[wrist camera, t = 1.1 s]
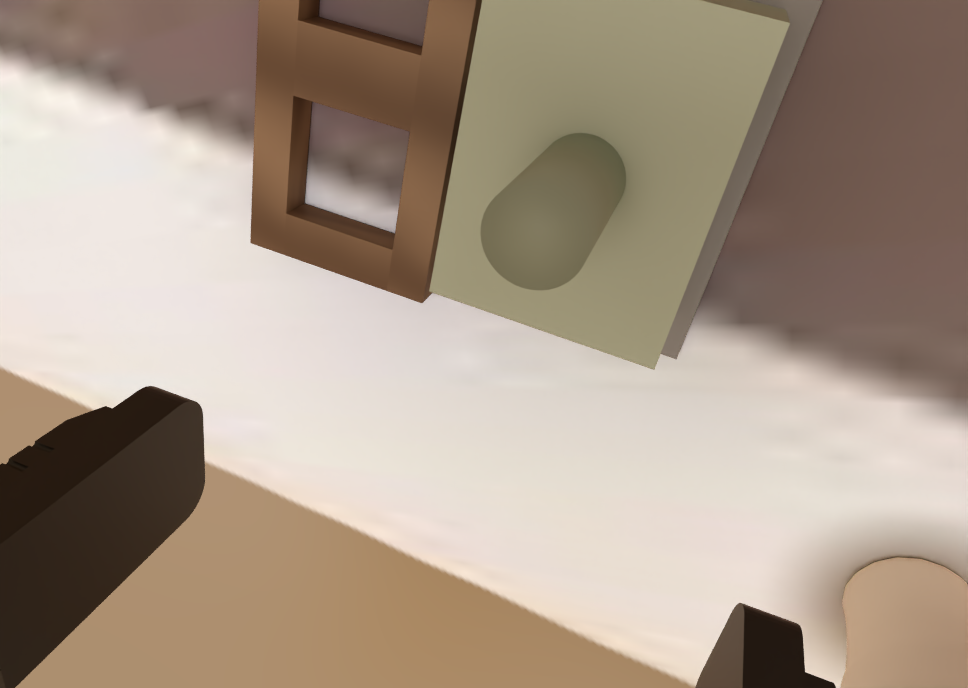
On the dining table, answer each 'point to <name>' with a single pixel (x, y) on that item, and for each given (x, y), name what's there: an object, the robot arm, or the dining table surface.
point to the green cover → (598, 160)
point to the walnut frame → (370, 94)
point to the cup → (906, 626)
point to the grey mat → (744, 162)
